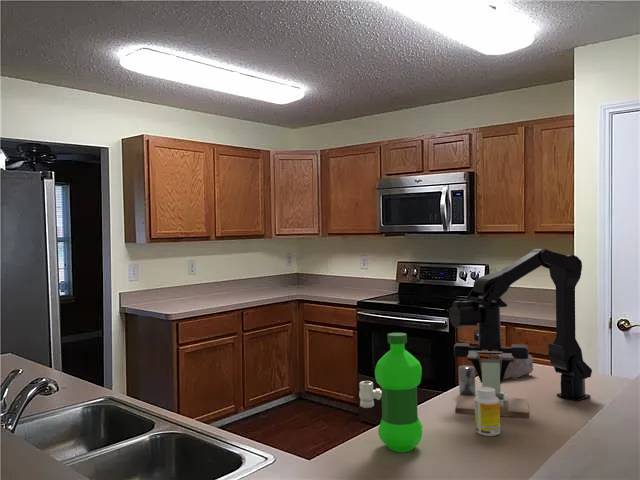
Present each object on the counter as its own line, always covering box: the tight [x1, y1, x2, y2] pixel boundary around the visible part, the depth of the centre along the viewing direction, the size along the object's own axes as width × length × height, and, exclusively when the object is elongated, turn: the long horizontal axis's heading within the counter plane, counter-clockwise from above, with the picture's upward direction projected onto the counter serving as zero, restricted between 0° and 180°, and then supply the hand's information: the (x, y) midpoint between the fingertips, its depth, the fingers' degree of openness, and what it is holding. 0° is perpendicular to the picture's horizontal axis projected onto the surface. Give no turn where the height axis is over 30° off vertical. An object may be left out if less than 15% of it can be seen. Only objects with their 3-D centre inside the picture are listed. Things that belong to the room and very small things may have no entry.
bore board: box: [454, 390, 530, 418], centre depth 146 cm, size 18×12×3 cm, turn 71°
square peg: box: [480, 358, 502, 394], centre depth 146 cm, size 4×4×8 cm
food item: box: [487, 345, 534, 380], centre depth 177 cm, size 14×8×10 cm, turn 115°
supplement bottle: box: [474, 386, 501, 437], centre depth 128 cm, size 6×6×10 cm
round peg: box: [458, 364, 477, 396], centre depth 158 cm, size 4×4×8 cm
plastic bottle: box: [374, 332, 423, 453], centre depth 120 cm, size 10×10×25 cm
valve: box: [358, 380, 382, 409], centre depth 151 cm, size 7×7×12 cm
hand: (491, 382), depth 146 cm, fingers closed on square peg, 4 cm apart
